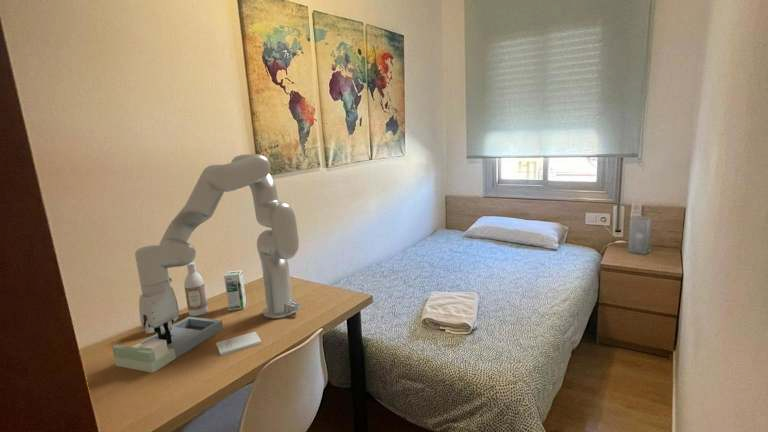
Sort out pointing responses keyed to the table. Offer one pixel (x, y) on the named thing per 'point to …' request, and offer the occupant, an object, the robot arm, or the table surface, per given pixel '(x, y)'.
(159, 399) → the table surface
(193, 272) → the bath foam
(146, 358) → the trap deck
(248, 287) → the table surface
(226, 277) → the syrup box
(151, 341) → the block
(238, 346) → the external hard drive
